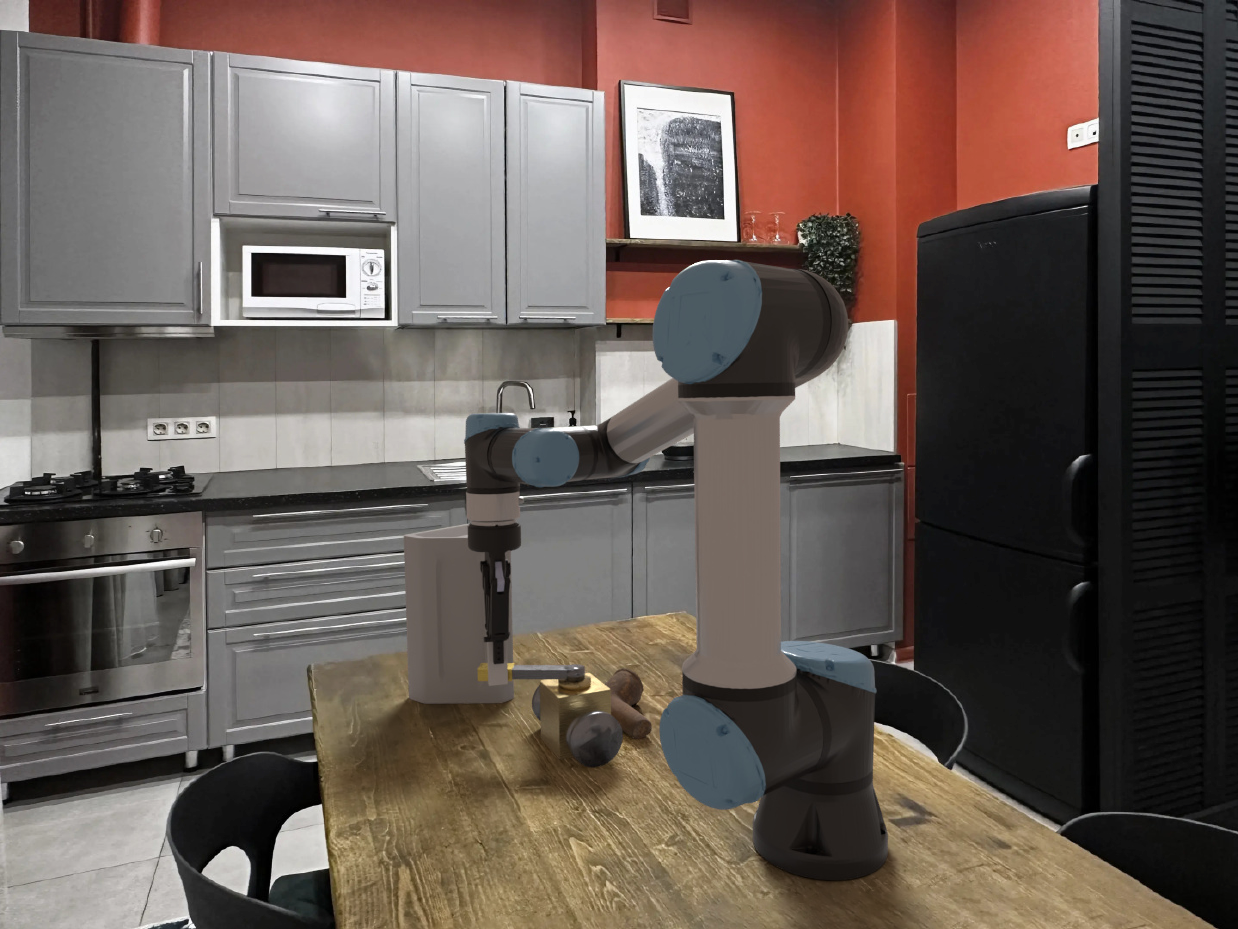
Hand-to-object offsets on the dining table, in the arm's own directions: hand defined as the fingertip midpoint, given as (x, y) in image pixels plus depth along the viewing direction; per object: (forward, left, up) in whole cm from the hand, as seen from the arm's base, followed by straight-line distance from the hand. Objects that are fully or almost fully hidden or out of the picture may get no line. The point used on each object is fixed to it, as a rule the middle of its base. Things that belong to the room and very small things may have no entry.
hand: (498, 683), depth 125 cm
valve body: (-3, -11, -10) cm, 15 cm away
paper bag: (+25, -4, -10) cm, 28 cm away
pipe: (+3, -22, -11) cm, 25 cm away
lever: (0, -5, 0) cm, 5 cm away
